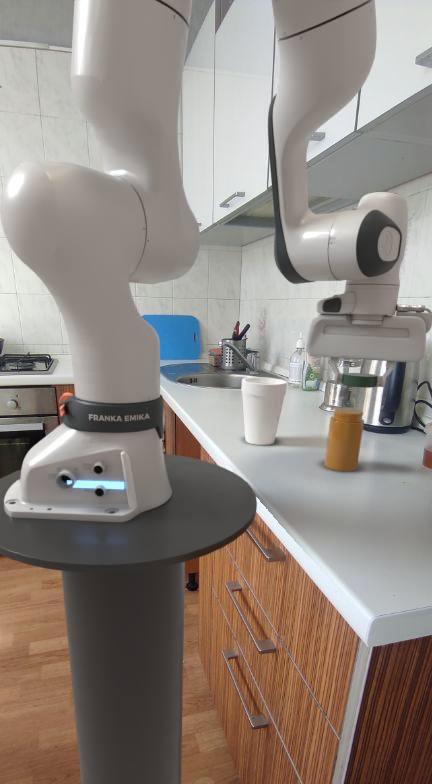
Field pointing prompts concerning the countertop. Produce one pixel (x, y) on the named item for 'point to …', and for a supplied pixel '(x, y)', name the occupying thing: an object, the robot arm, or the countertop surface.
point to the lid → (359, 380)
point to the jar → (344, 439)
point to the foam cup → (262, 408)
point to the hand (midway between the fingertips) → (358, 384)
